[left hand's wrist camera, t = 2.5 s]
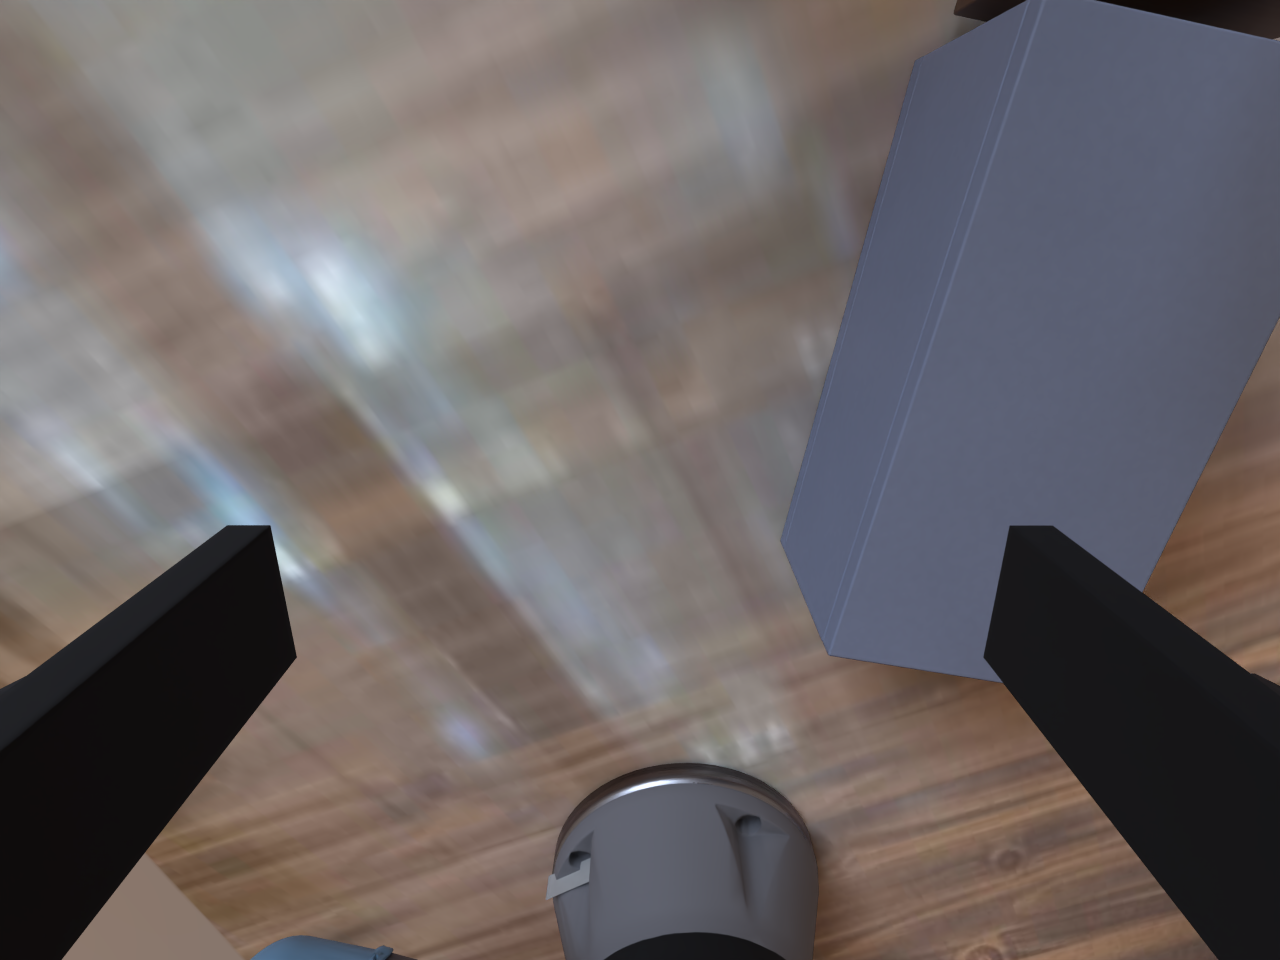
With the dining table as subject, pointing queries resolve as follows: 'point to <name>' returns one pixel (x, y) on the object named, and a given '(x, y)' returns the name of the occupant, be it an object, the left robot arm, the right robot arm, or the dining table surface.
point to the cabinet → (1039, 318)
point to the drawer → (1168, 12)
